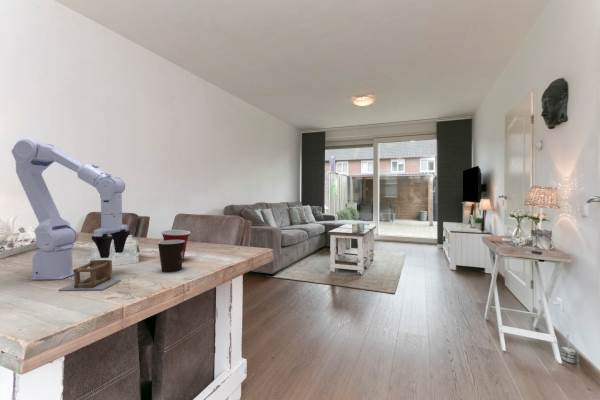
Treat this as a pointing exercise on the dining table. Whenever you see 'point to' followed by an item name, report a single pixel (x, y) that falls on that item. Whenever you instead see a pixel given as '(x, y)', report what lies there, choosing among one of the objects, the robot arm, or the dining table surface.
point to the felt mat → (98, 287)
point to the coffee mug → (171, 255)
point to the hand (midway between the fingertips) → (112, 255)
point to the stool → (94, 273)
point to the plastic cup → (176, 236)
